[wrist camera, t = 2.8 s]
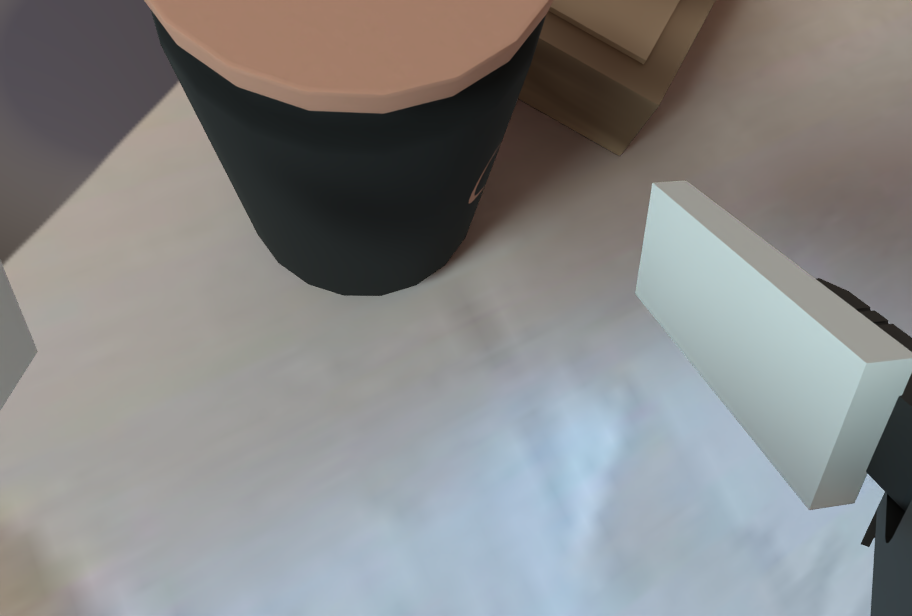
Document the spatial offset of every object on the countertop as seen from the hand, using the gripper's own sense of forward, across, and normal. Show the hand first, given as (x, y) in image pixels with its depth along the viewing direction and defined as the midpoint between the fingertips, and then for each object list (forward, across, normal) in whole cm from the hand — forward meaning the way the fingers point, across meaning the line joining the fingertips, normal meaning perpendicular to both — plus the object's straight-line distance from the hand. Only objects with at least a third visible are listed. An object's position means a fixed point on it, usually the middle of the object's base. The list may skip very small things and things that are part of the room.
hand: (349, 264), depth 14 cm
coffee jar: (+19, +1, -6) cm, 20 cm away
